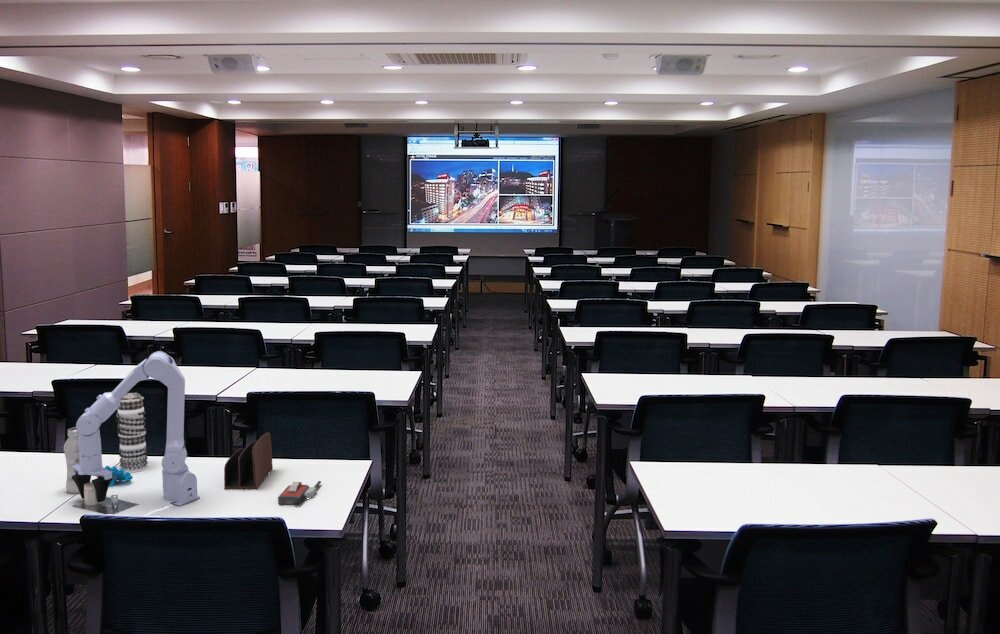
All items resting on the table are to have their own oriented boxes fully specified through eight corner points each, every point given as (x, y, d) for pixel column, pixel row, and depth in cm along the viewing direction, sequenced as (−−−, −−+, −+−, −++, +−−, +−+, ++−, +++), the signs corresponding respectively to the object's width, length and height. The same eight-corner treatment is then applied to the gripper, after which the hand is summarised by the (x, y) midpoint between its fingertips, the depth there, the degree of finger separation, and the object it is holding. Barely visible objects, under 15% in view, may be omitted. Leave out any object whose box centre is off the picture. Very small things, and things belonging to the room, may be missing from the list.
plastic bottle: (64, 498, 262) (60, 432, 259) (68, 490, 268) (64, 427, 265) (88, 496, 263) (84, 431, 261) (91, 489, 270) (87, 425, 267)
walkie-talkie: (305, 508, 255) (323, 486, 275) (305, 494, 255) (323, 472, 274) (275, 508, 256) (295, 485, 275) (275, 493, 255) (295, 471, 275)
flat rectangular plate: (139, 507, 254) (138, 492, 254) (110, 518, 245) (109, 503, 245) (101, 498, 261) (100, 484, 261) (71, 509, 252) (70, 494, 252)
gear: (139, 478, 275) (121, 463, 268) (133, 495, 272) (114, 480, 264) (109, 480, 278) (90, 465, 270) (103, 497, 274) (83, 482, 267)
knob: (94, 498, 258) (93, 480, 258) (105, 501, 256) (104, 482, 256) (81, 503, 254) (80, 484, 254) (92, 506, 252) (91, 486, 252)
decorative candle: (141, 462, 296) (137, 389, 293) (154, 468, 290) (150, 394, 287) (114, 468, 290) (110, 394, 286) (126, 474, 284) (122, 398, 280)
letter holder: (273, 470, 289) (271, 428, 287) (256, 490, 270) (254, 446, 268) (242, 470, 289) (241, 428, 287) (223, 490, 270) (222, 445, 268)
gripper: (61, 454, 253) (64, 499, 255) (96, 461, 247) (98, 507, 248) (82, 447, 259) (85, 492, 261) (117, 454, 253) (119, 500, 255)
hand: (93, 499), depth 255 cm, fingers open, 6 cm apart
